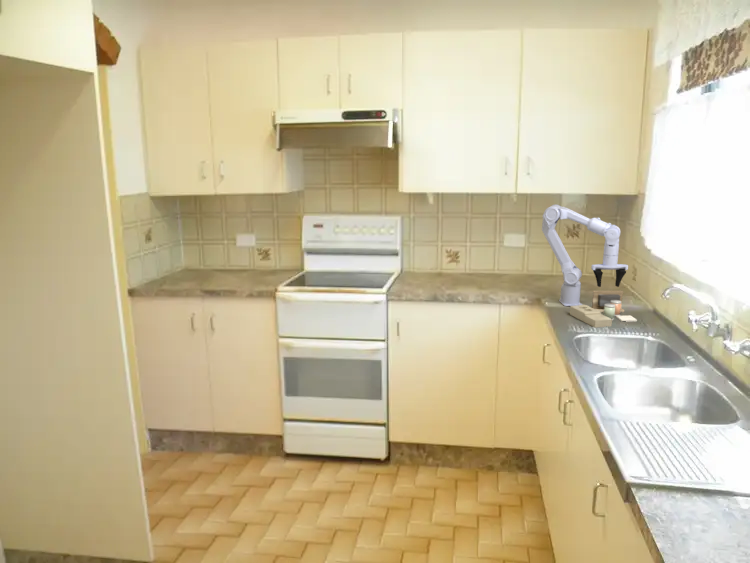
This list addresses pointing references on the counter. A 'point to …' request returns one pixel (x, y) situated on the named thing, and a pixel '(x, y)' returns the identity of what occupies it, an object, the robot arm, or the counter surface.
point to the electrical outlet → (590, 316)
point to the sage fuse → (609, 310)
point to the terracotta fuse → (617, 307)
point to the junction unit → (605, 299)
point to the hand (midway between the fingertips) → (608, 286)
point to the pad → (626, 318)
